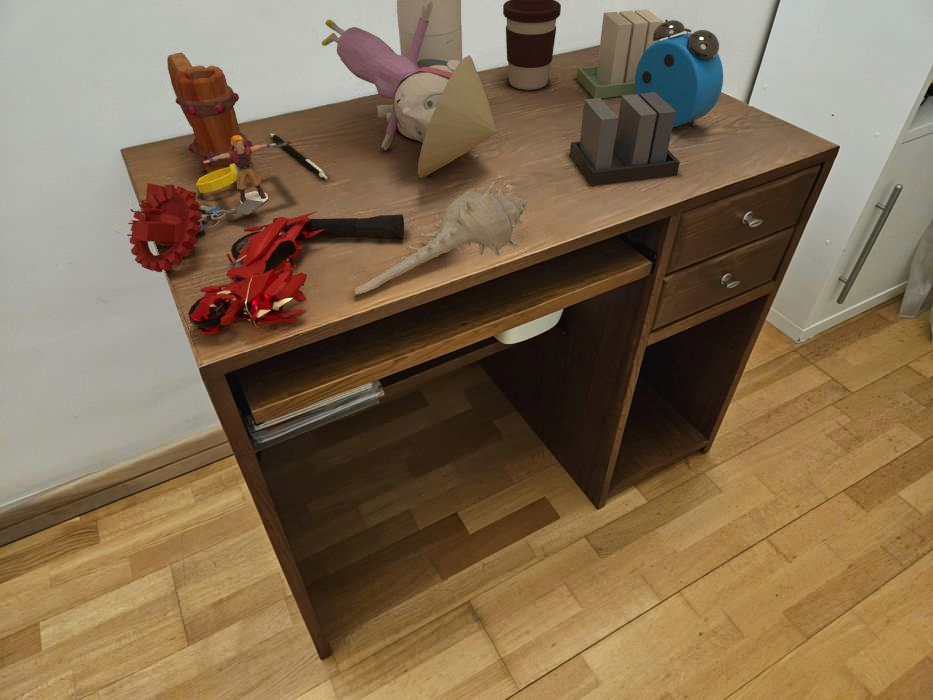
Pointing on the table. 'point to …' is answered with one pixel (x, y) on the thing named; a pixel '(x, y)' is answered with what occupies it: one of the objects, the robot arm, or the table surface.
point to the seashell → (463, 230)
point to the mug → (206, 109)
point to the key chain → (229, 211)
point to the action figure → (246, 167)
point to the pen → (300, 157)
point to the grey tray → (622, 168)
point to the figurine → (421, 93)
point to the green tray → (598, 88)
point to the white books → (639, 38)
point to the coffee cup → (530, 41)
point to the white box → (613, 48)
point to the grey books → (627, 130)
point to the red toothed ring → (165, 226)
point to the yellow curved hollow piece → (217, 179)
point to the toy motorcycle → (257, 278)
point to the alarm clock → (682, 71)
